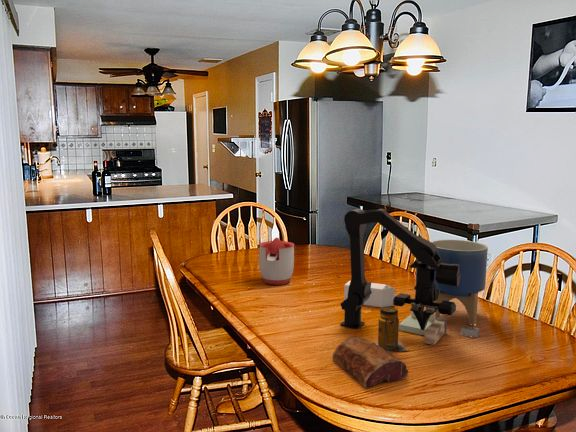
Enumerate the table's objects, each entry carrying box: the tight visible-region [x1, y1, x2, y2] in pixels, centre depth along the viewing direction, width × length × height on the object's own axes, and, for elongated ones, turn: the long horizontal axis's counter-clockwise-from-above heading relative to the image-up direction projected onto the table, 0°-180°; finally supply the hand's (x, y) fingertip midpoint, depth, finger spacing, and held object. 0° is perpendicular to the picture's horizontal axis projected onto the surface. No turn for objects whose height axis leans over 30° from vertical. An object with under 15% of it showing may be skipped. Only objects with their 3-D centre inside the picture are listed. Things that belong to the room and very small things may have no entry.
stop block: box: [460, 325, 480, 339], centre depth 168 cm, size 3×5×2 cm, turn 57°
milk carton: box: [343, 279, 396, 308], centre depth 200 cm, size 7×7×19 cm
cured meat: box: [332, 336, 409, 390], centre depth 146 cm, size 18×25×7 cm
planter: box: [430, 239, 489, 326], centre depth 183 cm, size 19×19×26 cm
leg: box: [424, 316, 448, 346], centre depth 165 cm, size 14×4×4 cm, turn 147°
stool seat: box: [398, 311, 436, 337], centre depth 174 cm, size 12×10×5 cm
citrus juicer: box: [258, 237, 295, 286], centre depth 227 cm, size 16×17×20 cm
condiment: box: [374, 306, 409, 353], centre depth 157 cm, size 7×8×12 cm
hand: (422, 329), depth 165 cm, fingers closed
